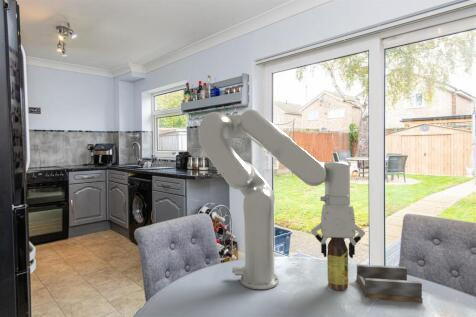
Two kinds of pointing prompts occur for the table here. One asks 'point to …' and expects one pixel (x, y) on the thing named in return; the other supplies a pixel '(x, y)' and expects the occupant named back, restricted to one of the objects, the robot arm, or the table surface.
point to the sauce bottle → (337, 264)
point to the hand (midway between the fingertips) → (337, 255)
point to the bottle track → (388, 283)
